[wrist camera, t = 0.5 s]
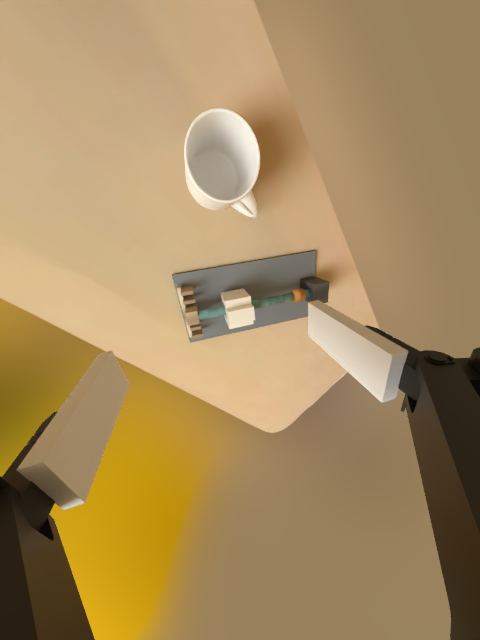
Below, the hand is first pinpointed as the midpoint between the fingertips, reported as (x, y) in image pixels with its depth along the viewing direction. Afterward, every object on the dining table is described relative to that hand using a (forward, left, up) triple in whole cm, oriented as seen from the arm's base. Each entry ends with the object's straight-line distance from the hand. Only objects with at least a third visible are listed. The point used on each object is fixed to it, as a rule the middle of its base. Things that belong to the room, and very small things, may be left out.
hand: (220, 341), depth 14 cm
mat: (+7, +9, -26) cm, 29 cm away
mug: (-12, +6, -27) cm, 30 cm away
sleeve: (+7, +5, -24) cm, 26 cm away
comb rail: (+7, +9, -26) cm, 29 cm away
